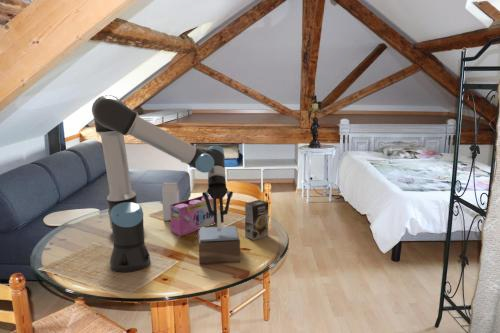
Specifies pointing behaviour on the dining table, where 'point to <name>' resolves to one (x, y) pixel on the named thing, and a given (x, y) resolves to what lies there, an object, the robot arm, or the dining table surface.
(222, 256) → the walnut box
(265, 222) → the coffee box
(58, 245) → the dining table surface
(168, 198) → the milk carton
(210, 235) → the lid
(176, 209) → the gum box
